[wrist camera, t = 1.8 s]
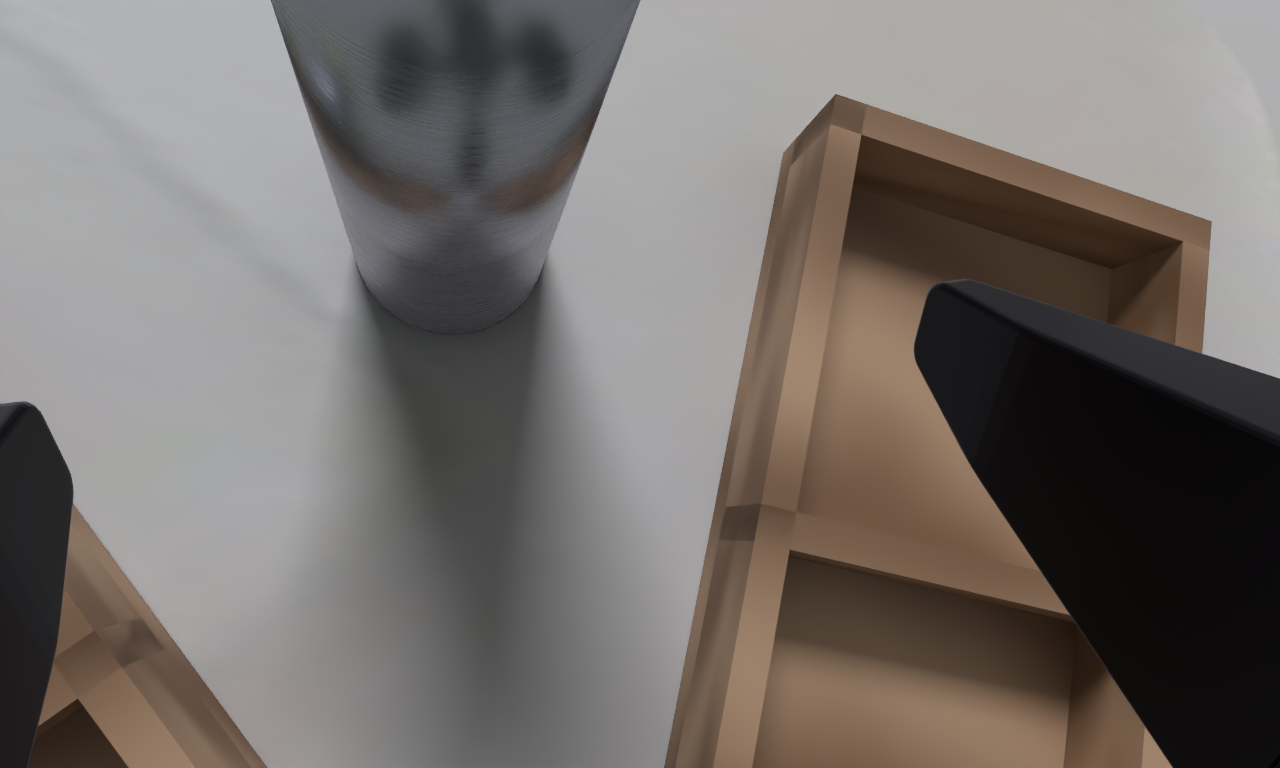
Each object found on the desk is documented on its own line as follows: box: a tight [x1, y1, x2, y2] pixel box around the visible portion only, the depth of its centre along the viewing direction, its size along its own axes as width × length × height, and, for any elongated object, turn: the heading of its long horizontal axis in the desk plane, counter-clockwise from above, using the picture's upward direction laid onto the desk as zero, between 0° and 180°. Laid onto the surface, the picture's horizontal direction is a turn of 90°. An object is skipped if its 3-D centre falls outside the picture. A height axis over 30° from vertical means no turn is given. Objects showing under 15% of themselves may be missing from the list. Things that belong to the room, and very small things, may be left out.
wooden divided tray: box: [664, 94, 1212, 768], centre depth 20 cm, size 20×11×3 cm, turn 168°
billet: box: [271, 0, 640, 334], centre depth 15 cm, size 4×4×12 cm
